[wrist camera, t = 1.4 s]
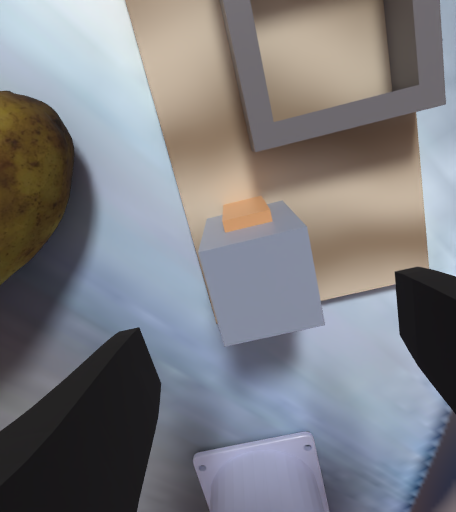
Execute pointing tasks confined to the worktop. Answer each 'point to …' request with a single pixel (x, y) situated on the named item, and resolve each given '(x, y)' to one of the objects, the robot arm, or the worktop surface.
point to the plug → (259, 271)
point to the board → (298, 153)
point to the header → (354, 113)
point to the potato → (30, 178)
